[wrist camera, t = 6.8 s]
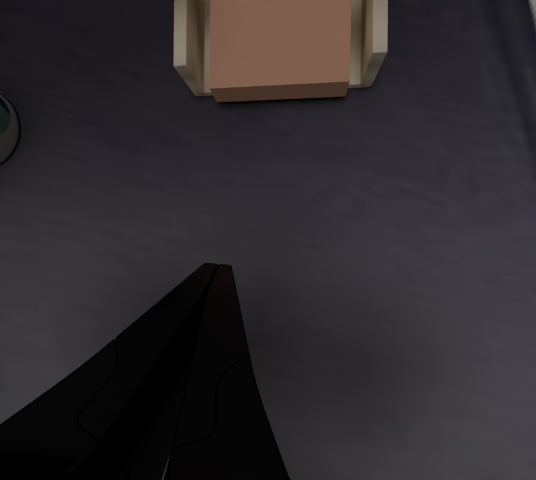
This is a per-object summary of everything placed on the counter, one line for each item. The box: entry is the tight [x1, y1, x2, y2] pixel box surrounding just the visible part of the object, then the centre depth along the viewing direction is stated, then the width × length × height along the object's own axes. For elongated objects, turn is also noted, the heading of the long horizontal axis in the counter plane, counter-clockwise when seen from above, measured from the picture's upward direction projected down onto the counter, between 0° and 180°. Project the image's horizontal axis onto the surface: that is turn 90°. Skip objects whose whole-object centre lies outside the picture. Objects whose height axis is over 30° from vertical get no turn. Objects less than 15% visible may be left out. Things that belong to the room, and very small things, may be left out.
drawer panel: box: [209, 0, 351, 102], centre depth 16 cm, size 2×8×8 cm
